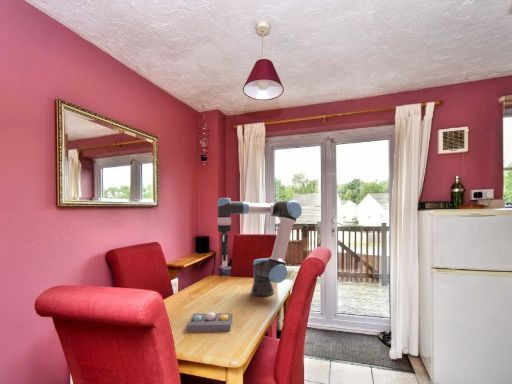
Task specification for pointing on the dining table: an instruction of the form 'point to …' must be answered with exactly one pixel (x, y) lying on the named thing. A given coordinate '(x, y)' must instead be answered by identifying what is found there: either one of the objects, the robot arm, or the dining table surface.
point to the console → (209, 324)
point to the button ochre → (224, 317)
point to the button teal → (197, 318)
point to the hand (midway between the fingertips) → (224, 266)
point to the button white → (210, 316)
